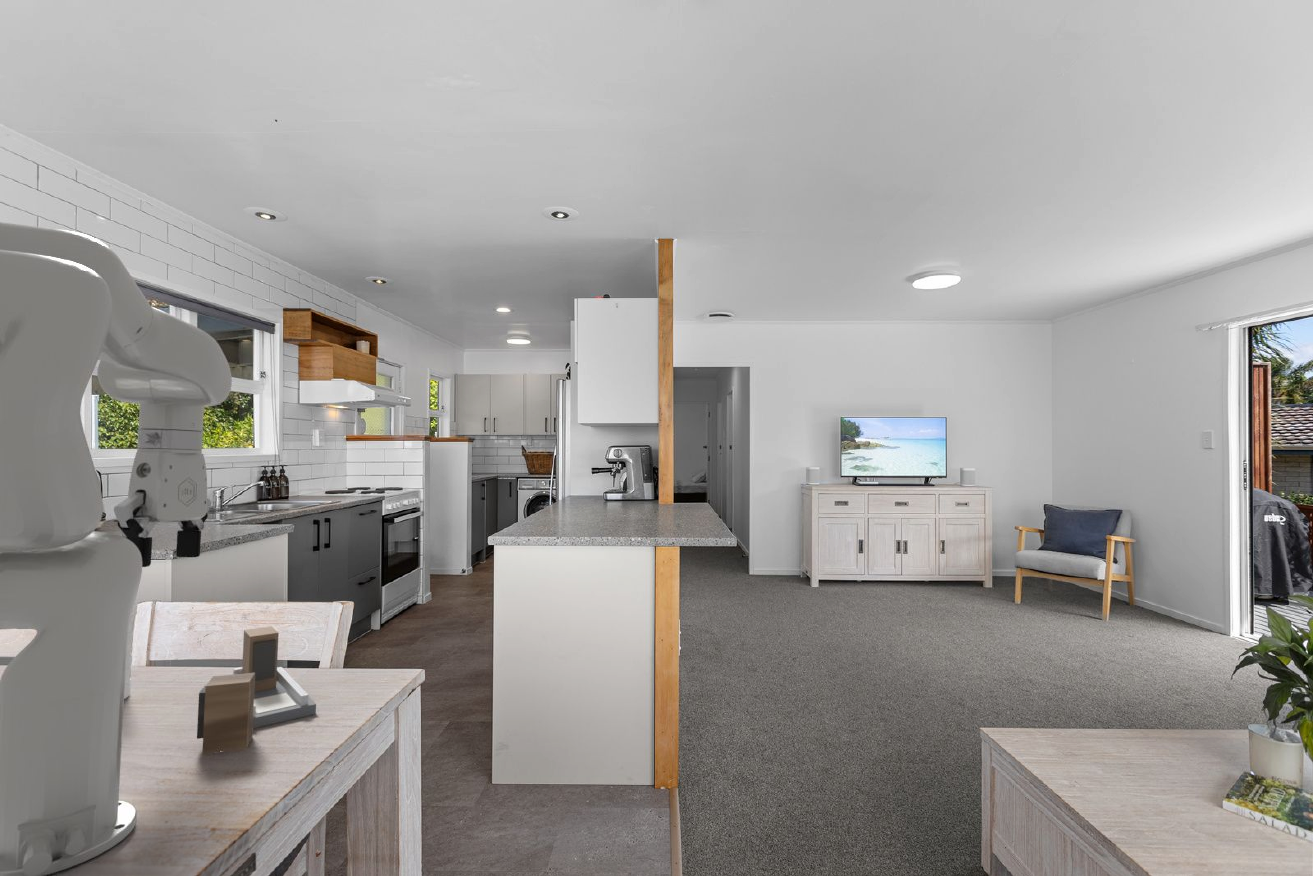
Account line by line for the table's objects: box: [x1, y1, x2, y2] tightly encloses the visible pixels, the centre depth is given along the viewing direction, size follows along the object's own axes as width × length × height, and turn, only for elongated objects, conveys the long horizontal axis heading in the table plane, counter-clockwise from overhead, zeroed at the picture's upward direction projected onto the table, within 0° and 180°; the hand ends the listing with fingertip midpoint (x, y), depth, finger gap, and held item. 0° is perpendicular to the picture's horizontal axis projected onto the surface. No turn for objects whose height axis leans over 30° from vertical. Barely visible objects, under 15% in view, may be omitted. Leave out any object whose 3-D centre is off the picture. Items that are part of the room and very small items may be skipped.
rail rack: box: [232, 626, 317, 729], centre depth 101 cm, size 18×10×10 cm, turn 43°
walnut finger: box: [196, 673, 255, 756], centre depth 87 cm, size 4×6×9 cm
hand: (163, 561), depth 92 cm, fingers open, 9 cm apart
